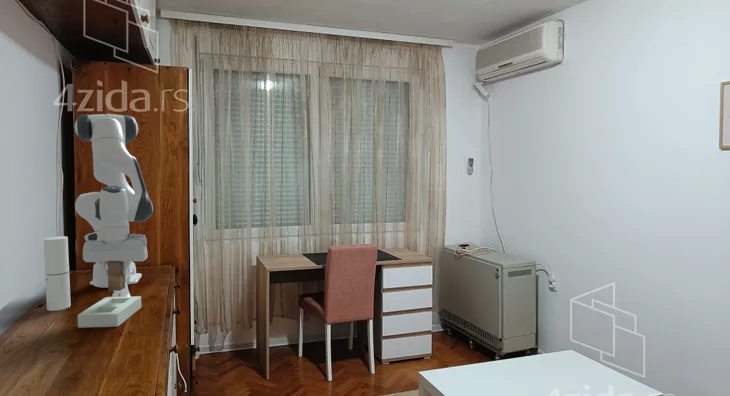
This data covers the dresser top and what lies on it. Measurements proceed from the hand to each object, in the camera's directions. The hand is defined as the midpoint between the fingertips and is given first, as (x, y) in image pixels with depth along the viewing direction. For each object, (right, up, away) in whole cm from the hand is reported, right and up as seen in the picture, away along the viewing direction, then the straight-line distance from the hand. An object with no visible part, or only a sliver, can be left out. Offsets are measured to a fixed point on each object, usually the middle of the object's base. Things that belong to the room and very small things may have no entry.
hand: (116, 274), depth 166 cm
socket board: (0, -14, -4) cm, 14 cm away
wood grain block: (0, -5, 0) cm, 5 cm away
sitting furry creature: (-5, -13, +13) cm, 19 cm away
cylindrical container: (-24, -13, +6) cm, 28 cm away
